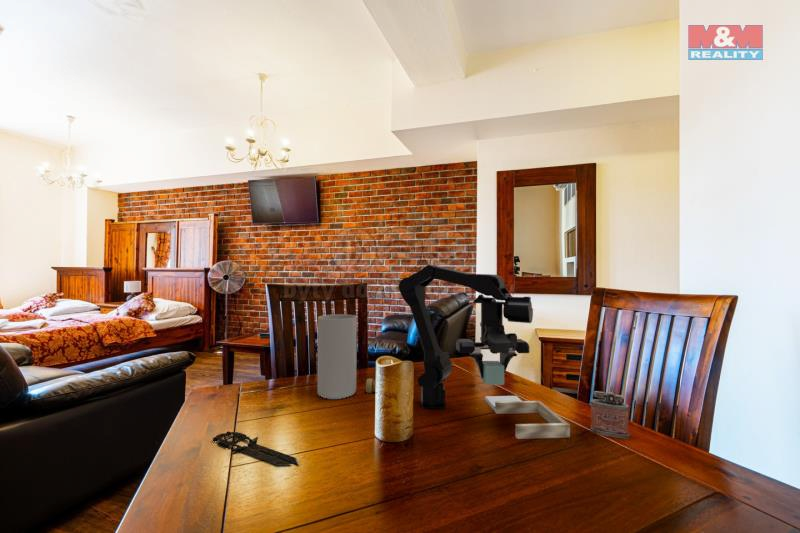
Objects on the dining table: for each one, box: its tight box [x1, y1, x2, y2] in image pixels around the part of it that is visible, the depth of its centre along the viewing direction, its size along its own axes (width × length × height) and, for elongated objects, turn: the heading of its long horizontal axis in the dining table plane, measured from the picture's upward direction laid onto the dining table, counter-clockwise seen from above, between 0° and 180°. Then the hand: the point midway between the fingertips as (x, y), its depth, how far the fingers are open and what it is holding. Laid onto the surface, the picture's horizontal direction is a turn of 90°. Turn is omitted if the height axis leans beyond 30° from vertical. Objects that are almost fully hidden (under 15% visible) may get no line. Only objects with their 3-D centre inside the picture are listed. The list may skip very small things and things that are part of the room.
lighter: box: [590, 390, 630, 439], centre depth 81 cm, size 8×3×10 cm, turn 65°
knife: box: [212, 431, 299, 466], centre depth 72 cm, size 25×6×1 cm, turn 57°
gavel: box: [365, 378, 376, 394], centre depth 118 cm, size 21×5×10 cm
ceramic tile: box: [484, 395, 523, 412], centre depth 99 cm, size 10×8×1 cm
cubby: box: [494, 400, 571, 440], centre depth 86 cm, size 13×15×3 cm
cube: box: [480, 360, 505, 386], centre depth 89 cm, size 5×5×5 cm
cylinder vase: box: [317, 313, 358, 400], centre depth 108 cm, size 12×12×25 cm
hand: (491, 377), depth 90 cm, fingers closed on cube, 5 cm apart
